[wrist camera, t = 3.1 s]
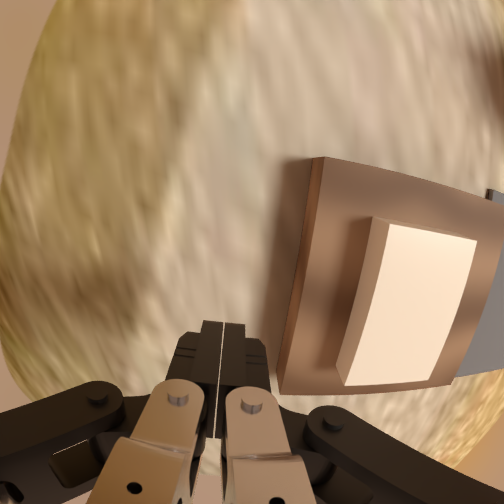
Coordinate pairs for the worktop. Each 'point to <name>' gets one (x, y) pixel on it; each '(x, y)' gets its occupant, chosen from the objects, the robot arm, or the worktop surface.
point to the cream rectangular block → (404, 303)
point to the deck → (351, 262)
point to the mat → (488, 323)
